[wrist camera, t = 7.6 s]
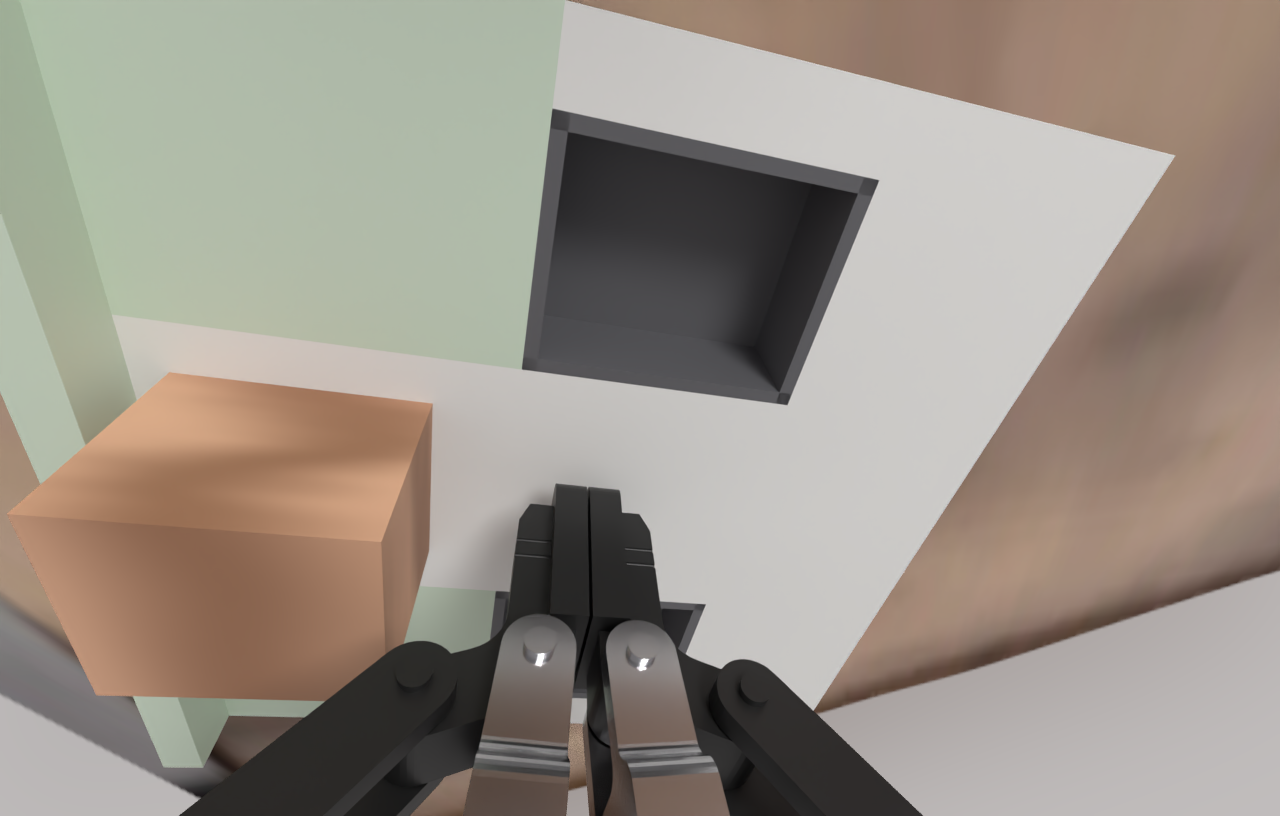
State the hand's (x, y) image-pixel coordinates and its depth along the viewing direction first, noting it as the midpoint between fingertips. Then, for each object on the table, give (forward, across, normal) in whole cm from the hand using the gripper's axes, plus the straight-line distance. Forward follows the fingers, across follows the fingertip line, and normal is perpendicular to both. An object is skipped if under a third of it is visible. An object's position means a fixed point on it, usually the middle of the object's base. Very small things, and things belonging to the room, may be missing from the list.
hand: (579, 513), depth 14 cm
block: (+1, +6, 0) cm, 6 cm away
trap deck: (+3, 0, 0) cm, 3 cm away
